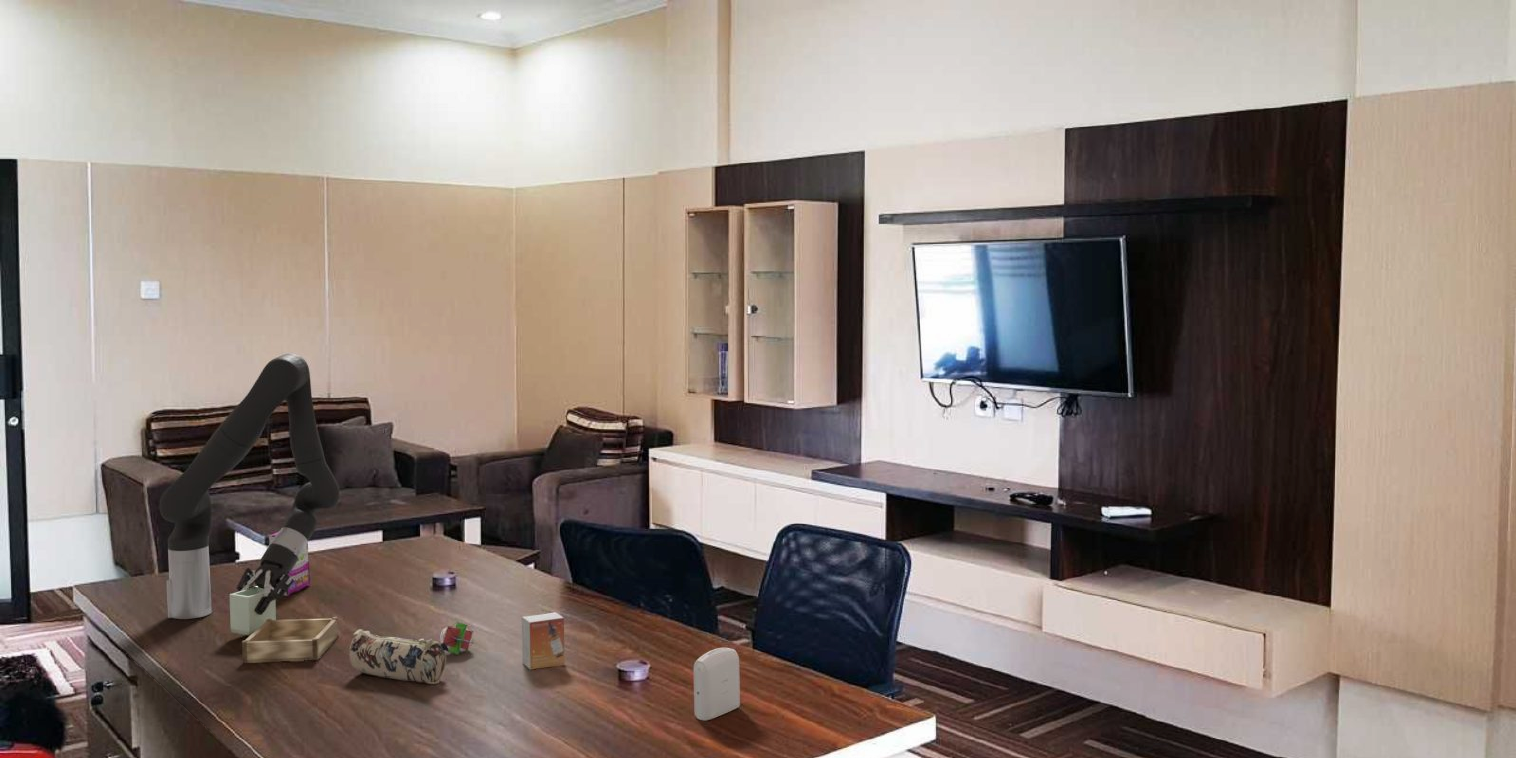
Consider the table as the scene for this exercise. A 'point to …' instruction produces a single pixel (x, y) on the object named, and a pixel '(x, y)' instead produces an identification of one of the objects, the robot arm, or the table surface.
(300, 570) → the candy bar box
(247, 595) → the box
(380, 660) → the pencil case
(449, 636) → the geometric puzzle
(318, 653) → the wooden tray
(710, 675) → the photo printer
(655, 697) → the table surface
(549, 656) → the small box
